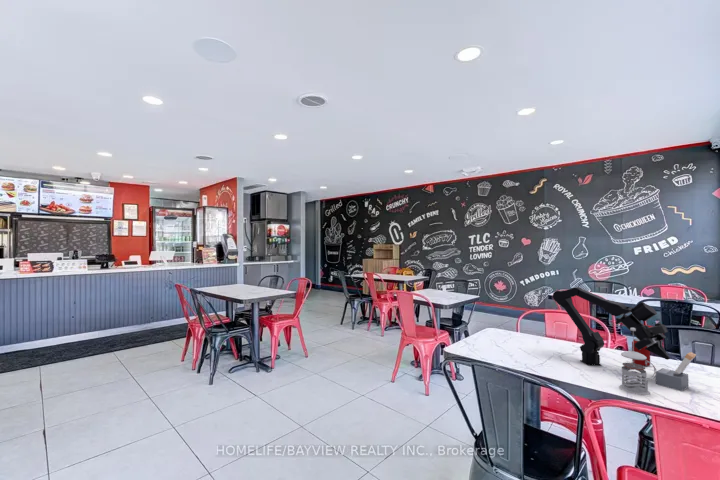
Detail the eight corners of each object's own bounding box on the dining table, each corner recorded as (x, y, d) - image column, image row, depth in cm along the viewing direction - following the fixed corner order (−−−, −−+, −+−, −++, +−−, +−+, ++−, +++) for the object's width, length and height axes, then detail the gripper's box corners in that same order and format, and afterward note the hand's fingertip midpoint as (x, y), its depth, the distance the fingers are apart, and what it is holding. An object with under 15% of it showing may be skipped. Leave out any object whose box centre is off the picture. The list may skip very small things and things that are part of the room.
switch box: (655, 384, 135) (655, 369, 135) (662, 379, 140) (662, 365, 140) (681, 391, 128) (681, 375, 128) (688, 386, 133) (688, 371, 133)
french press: (616, 383, 136) (615, 323, 136) (652, 389, 130) (651, 327, 131) (621, 391, 127) (619, 328, 128) (660, 398, 121) (658, 332, 122)
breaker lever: (672, 373, 132) (686, 353, 128) (676, 370, 135) (690, 351, 131) (678, 376, 130) (692, 357, 127) (682, 373, 133) (696, 354, 130)
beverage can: (643, 362, 162) (642, 338, 162) (654, 367, 155) (653, 342, 156) (628, 361, 163) (628, 338, 163) (639, 366, 156) (638, 341, 156)
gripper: (644, 319, 135) (680, 353, 125) (659, 314, 145) (694, 346, 135) (621, 333, 141) (654, 366, 132) (637, 328, 151) (669, 359, 142)
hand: (668, 359), depth 135 cm, fingers closed
